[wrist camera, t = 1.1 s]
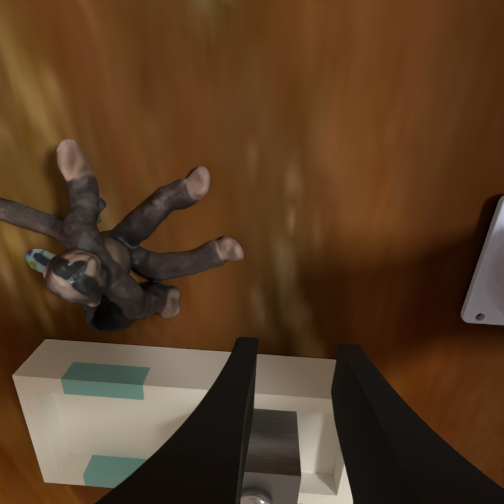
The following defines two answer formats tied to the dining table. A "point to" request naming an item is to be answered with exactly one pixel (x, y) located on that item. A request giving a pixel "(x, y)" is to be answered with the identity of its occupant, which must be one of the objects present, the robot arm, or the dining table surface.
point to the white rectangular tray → (162, 409)
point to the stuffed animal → (115, 247)
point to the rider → (272, 459)
